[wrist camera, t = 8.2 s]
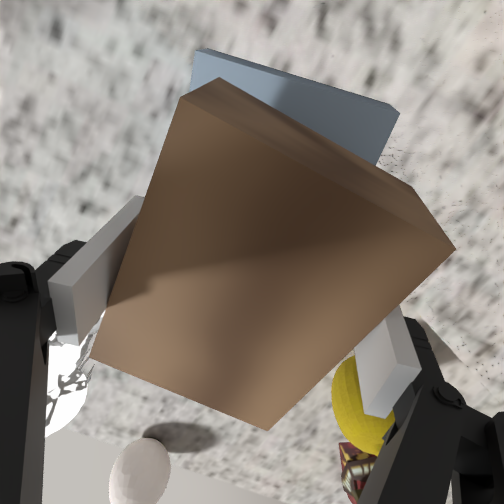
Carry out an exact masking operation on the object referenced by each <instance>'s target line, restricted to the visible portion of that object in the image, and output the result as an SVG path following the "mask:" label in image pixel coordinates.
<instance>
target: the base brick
mask: <svg viewBox="0 0 504 504" xmlns="http://www.w3.org/2000/svg"><path fill="white" fill-rule="evenodd" d="M218 77H220V78H222V79H224V80H226V81H227V82H229V83H231V84H233V85H234V86H236V87H238V88H240V89H241V90H243V91H245V92H247V93H248V94H250V95H252V96H254V97H255V98H257V99H259V100H261V101H262V102H264V103H266V104H268V105H269V106H271V107H273V108H275V109H277V110H278V111H280V112H282V113H284V114H285V115H287V116H289V117H291V118H292V119H294V120H296V121H298V122H299V123H301V124H303V125H305V126H306V127H308V128H310V129H312V130H313V131H315V132H317V133H319V134H320V135H322V136H324V137H326V138H327V139H329V140H331V141H333V142H334V143H336V144H338V145H340V146H341V147H343V148H345V149H347V150H348V151H350V152H352V153H354V154H355V155H357V156H359V157H361V158H362V159H364V160H366V161H368V162H369V163H371V164H373V165H375V166H376V163H377V161H378V159H379V157H380V155H381V153H382V151H383V149H384V147H385V144H386V142H387V140H388V138H389V136H390V134H391V132H392V130H393V128H394V125H395V123H396V121H397V119H398V117H399V115H400V113H399V112H398V111H397V110H396V109H395V108H393V107H392V106H391V105H390V104H387V103H384V102H381V101H378V100H374V99H371V98H368V97H365V96H361V95H358V94H355V93H352V92H348V91H345V90H342V89H339V88H335V87H332V86H329V85H326V84H322V83H319V82H316V81H312V80H309V79H306V78H303V77H299V76H296V75H293V74H290V73H286V72H283V71H280V70H277V69H273V68H270V67H267V66H264V65H260V64H257V63H254V62H251V61H247V60H244V59H241V58H238V57H234V56H231V55H228V54H224V53H221V52H218V51H215V50H211V49H208V48H207V49H201V50H195V56H194V63H193V70H192V77H191V84H190V91H189V92H191V91H193V90H195V89H197V88H199V87H201V86H203V85H204V84H206V83H208V82H210V81H212V80H214V79H216V78H218Z"/></svg>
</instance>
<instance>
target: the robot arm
mask: <svg viewBox="0 0 504 504" xmlns="http://www.w3.org/2000/svg"><path fill="white" fill-rule="evenodd" d="M144 199H145V197H140V196H136V195H135V196H134V197H133V198H132V199H131V200H130V201H129V202H128V203H127V204H126V205H125V206H124V207H123V208H122V209H121V210H120V211H119V212H118V213H117V214H116V215H115V216H114V217H113V218H112V219H111V220H110V221H109V222H108V223H107V224H106V225H105V226H104V227H102V228H101V229H100V230H99V231H98V232H97V233H96V234H95V235H94V236H93V237H92V238H91V239H90V240H89V241H88V242H83V241H78V240H74V241H72V242H70V243H67V244H65V245H63V246H62V247H61V248H60V249H59V250H57V251H56V252H55V254H54V255H52V256H51V257H50V258H48V260H47V261H45V262H44V263H43V264H42V265H41V266H39V267H38V268H37V269H36V270H34V267H33V266H31V265H30V264H28V263H24V262H13V261H12V262H6V263H1V264H0V504H42V487H43V468H44V467H43V466H44V447H45V427H46V407H47V387H48V366H49V342H48V339H49V338H50V337H51V336H52V334H53V333H54V332H55V331H56V334H57V340H58V342H62V343H66V344H70V345H74V346H80V345H81V343H82V342H83V340H84V339H85V338H86V336H87V335H88V333H89V332H90V331H91V329H92V328H93V326H94V325H95V324H96V322H97V321H98V319H99V318H100V317H101V315H102V314H103V312H104V311H105V310H106V308H107V304H108V301H109V298H110V296H111V293H112V290H113V287H114V284H115V281H116V278H117V276H118V273H119V270H120V267H121V264H122V261H123V259H124V256H125V253H126V250H127V247H128V244H129V241H130V239H131V236H132V233H133V230H134V227H135V224H136V221H137V219H138V216H139V213H140V210H141V207H142V204H143V202H144ZM354 352H355V359H356V365H357V371H358V378H359V384H360V390H361V397H362V403H363V409H364V414H367V415H371V416H376V417H380V418H384V419H386V417H387V416H388V415H389V413H390V412H391V411H392V409H393V412H394V417H395V422H394V423H393V424H392V426H391V427H390V428H389V429H388V431H387V432H386V433H385V435H384V436H383V437H382V439H383V440H384V443H383V445H382V447H381V450H380V452H379V454H378V457H377V459H376V461H375V463H374V466H373V468H372V470H371V473H370V475H369V477H368V479H367V482H366V484H365V486H364V489H363V491H362V493H361V495H360V498H359V500H358V502H357V504H446V499H447V495H448V490H449V486H450V481H451V484H452V499H453V504H504V412H498V413H497V414H496V415H495V416H494V417H493V418H491V417H489V416H487V415H485V414H483V413H481V412H479V411H477V410H475V409H473V408H471V407H469V406H467V405H466V402H465V400H464V398H463V396H462V395H461V394H460V393H459V391H458V390H457V389H456V388H454V387H453V386H452V385H451V384H449V383H447V382H445V380H444V378H443V375H442V373H441V370H440V368H439V365H438V363H437V360H436V358H435V355H434V353H433V351H432V348H431V346H430V343H429V342H428V338H427V336H426V333H425V331H424V329H423V328H422V327H421V325H420V324H419V323H418V322H417V321H416V319H412V318H408V317H404V316H403V314H402V311H401V308H400V305H398V306H397V307H396V308H395V309H394V310H393V311H392V312H391V313H390V314H389V315H388V316H387V317H385V318H384V319H383V320H382V321H381V322H380V323H379V324H378V325H377V326H376V327H375V328H374V329H373V330H372V331H371V332H370V333H369V334H368V335H367V336H366V337H365V338H364V339H363V340H362V341H361V342H360V343H359V344H358V345H356V346H355V347H354Z"/></svg>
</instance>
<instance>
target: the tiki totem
mask: <svg viewBox="0 0 504 504" xmlns="http://www.w3.org/2000/svg"><path fill="white" fill-rule="evenodd" d="M339 449H340V457H341V464H342V475H341V477H342V484H343V488H344V491H345V492H347V495H348V498H349V499H350V501H351V502H352V504H357V502H358V500H359V498H360V495H361V493H362V491H363V489H364V486H365V484H366V482H367V479H368V477H369V475H370V473H371V470H372V468H373V466H374V463H375V461H376V459H377V456H376V455H374V454H369V453H367V452H364V451H362V450H360V449H359V448H357V447H355V446H354V445H353V444H352V443H351V442H343V443H339Z"/></svg>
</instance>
